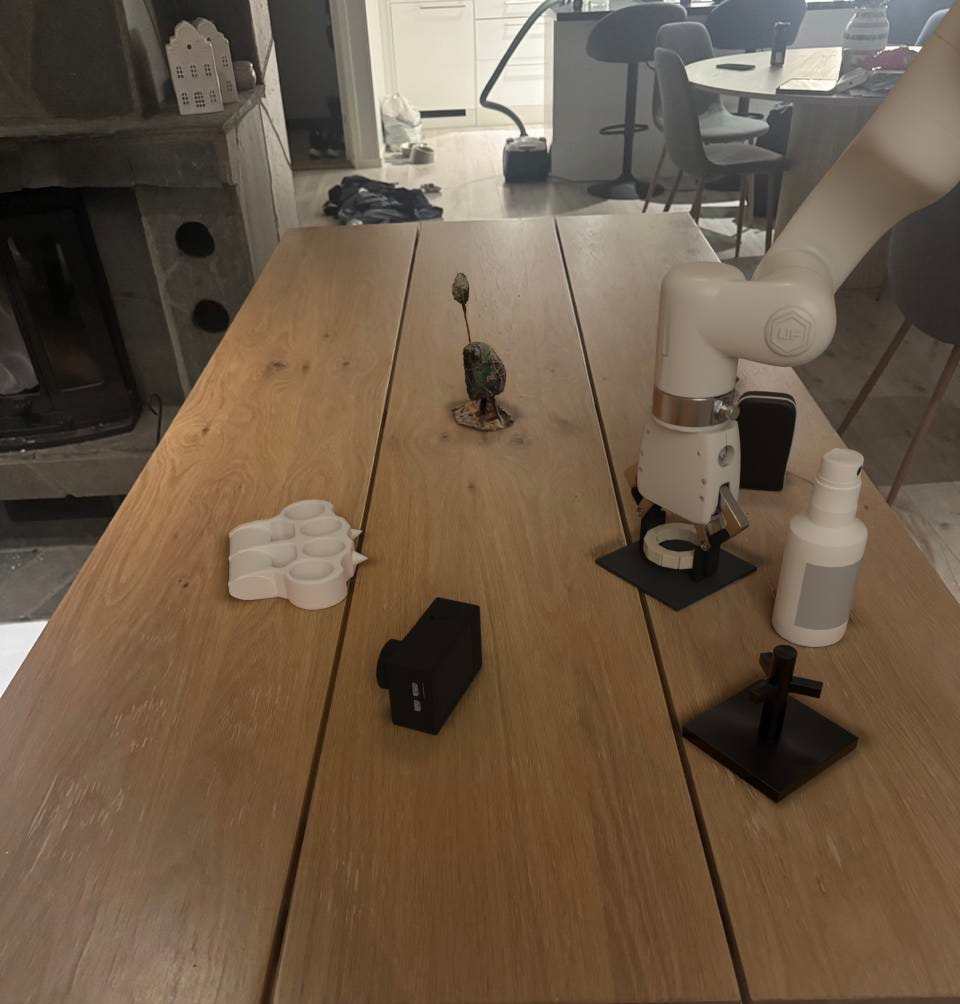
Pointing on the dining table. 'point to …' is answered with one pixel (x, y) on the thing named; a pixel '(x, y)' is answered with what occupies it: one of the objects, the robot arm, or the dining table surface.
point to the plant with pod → (480, 376)
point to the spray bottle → (823, 556)
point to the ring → (667, 556)
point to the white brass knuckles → (294, 556)
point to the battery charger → (765, 438)
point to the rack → (772, 730)
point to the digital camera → (432, 665)
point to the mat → (672, 573)
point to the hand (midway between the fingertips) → (677, 560)
